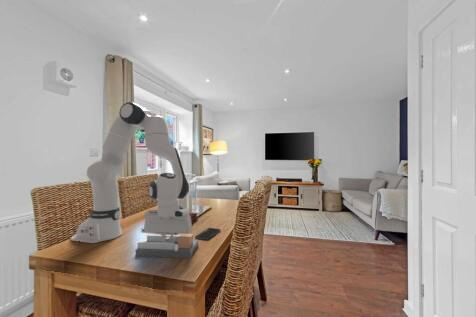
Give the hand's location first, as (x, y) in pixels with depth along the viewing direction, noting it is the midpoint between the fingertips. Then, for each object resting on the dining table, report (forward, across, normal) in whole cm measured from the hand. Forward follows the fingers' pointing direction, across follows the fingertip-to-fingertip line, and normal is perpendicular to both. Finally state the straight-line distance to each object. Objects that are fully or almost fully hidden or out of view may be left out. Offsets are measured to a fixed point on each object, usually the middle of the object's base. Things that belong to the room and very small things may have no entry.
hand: (167, 242), depth 91 cm
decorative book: (+4, -6, +40) cm, 41 cm away
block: (+1, +8, 0) cm, 8 cm away
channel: (+4, 0, 0) cm, 4 cm away
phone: (+4, +14, +20) cm, 25 cm away
